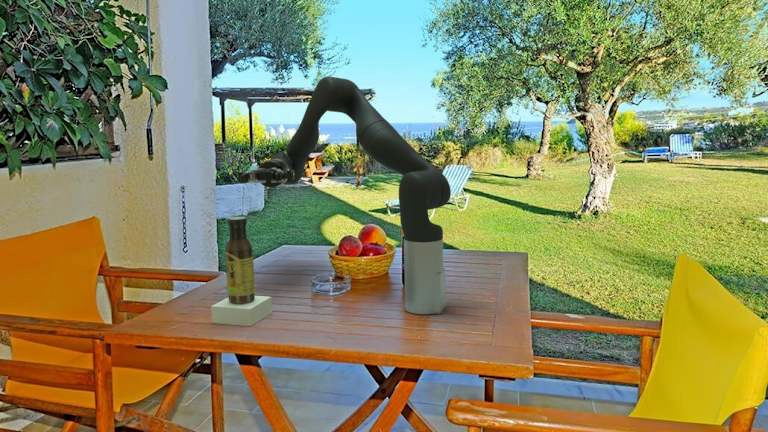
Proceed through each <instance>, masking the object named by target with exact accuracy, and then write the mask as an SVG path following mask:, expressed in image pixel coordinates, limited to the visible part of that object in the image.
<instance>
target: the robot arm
mask: <svg viewBox="0 0 768 432" xmlns="http://www.w3.org/2000/svg"><path fill="white" fill-rule="evenodd" d="M327 112H333V113H342V114H344V115H346V116H347V117H349V118H350V119H351V120H352V121H353V122H354V124H355V125H356V126H355V128H356V129H355V133H356V139H357V141H358V143H359V144H360V146H361V147H362V149H364V151H365V152H366V153H367V154H368V155H369V156H370V158H372V159H373V160H374V161H375V162H377V163H379V164H381V165H382V166H385V167H386V168H388V169H390V170H392V171H395V172H397V173H398V174H400V175H402V176H401V179H400V182H399V186H398V205H399V217H400V226H401V229H402V232H403V255H404V256H403V257H404V258H403V259H404V263H403V264H404V265H403V266H404V298H405V299H404V303H405V305H404V307H405V308H404V309H405V311H406V312H408V313H411V314H415V315H431V314H432V315H433V314H442V313H443V311H444V310H445V308H446V305H447V303H446V301H447V300H446V299H447V297H446V292H447V291H446V268H444V230H443V227H442V226H441V225H439V224H437V223H433V222H432V221H431V220H430V219H429V218H430V217H429V210H435V209H439V208H442V207H444V206H445V205H447V204H448V203H449V201H450V199H451V193H452V191H451V190H452V189H451V185H450V182H449V181H448V179H447V177H446V176H445V175H444V174H443V172H442V171H440V169H438V168H437V167H436V166H434V165H433V164H432V163H431V162H429V161H428V160H427V159H425V158H424V157H423V156H422V155H421V154H419V152H417V150H416V149H415V148H414V147H413V146H411V145H410V143H409V142H408V141H407V140H406V139H405V138H403V136H402V135H401V134H400V133H399V132H398V130H396V129H395V127H394V126H393V125H392V124H390V122H389V121H388V120H387V119H385V117H384V116H383V115H382V114H381V113H380V112H379V111H378V110H377V109H376V108H375V107H374V106H373V105H372V104H371V102H369V100H368V98H366V96H365V95H364V93H363V92H362V90H361V88H360V87H359V86H358V85H357V84H356V83H355V82H353V81H352V80H350V79H347V78H342V77H341V78H340V77H335V76H324V77H322V78H321V79H320V80H319V81H318V83H317V84H316V85H315V88H314V90H313V92H312V95H311V97H310V99H309V102H308V105H306V109H305V112H304V115H303V117H302V119H301V123H300V124H299V126H298V128H297V129H296V131H295V132H294V134H293V135H292V137H291V139H290V141H289V142H288V144H287V145H286V148H285V151H286V152H284V151H283V152H282V151H280V152H276V153H275V154H274V155H273V156H272V157H271V159H268V160H265V161H263V162H262V163H260V165H259V166H258V168H257V169H250V170H249V171H248V170H242V171H238V172H236V176H237V183H241V184H246V183H251V184H257V183H258V184H259V183H260V184H261V185H262V186H263V187H266V188H268V189H269V188H270V189H273V188H277V187H279V186H281V185H284V183H285V184H287V185H291V186H293V185H295V184H297V183H298V182H300V180H301V178H302V177H303V175H304V171H305V166H306V164H307V161H308V158H309V156H310V155H312V152H313V151H314V149H315V148H316V146H317V144H318V142H319V140H320V138H319V137H320V127H319V126H320V125H319V124H320V120H321V119H322V117H324V114H326V113H327Z"/></svg>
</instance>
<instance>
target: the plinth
mask: <svg viewBox="0 0 768 432" xmlns="http://www.w3.org/2000/svg"><path fill="white" fill-rule="evenodd" d="M272 300H273V299H272V296H267V295H264V296H263V295H255V299H254V301H252V302H249V303H245V304H235V303H232V302H230V301H229V296H228V297H227V298H224V299H223V300H221V301H219V302H216V303H215V304H213V305H211V306H210V308H211V321H212V322H211V323H212V324H218V325H219V324H220V325H230V326H231V325H233V326H243V327H252V326H254V325H255V324H257V323H258V322H260V321H261V320H263V319H265V318H267V317H268V316H269V315H271V314H273V304H272V302H273V301H272Z"/></svg>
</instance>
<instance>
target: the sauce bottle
mask: <svg viewBox="0 0 768 432" xmlns="http://www.w3.org/2000/svg"><path fill="white" fill-rule="evenodd" d="M247 223H248V222H247V217H245V216H230V217H229V218H227V224H228V226H229V239H228V241H227V243H226V245H225V250H224V253H225V255H224V256H225V271H226V273H225V274H226V287H227V289H226V290H227V295H228V297H229V301H230V302H232V303H235V304H245V303H249V302H252V301H254V299H255V296H256V294H255V292H256V284H255V282H256V281H255V268H254V266H255V265H254V254H253V245H252V243H251V242H250V240H249V238H248V237H247V235H248V234H247Z"/></svg>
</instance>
